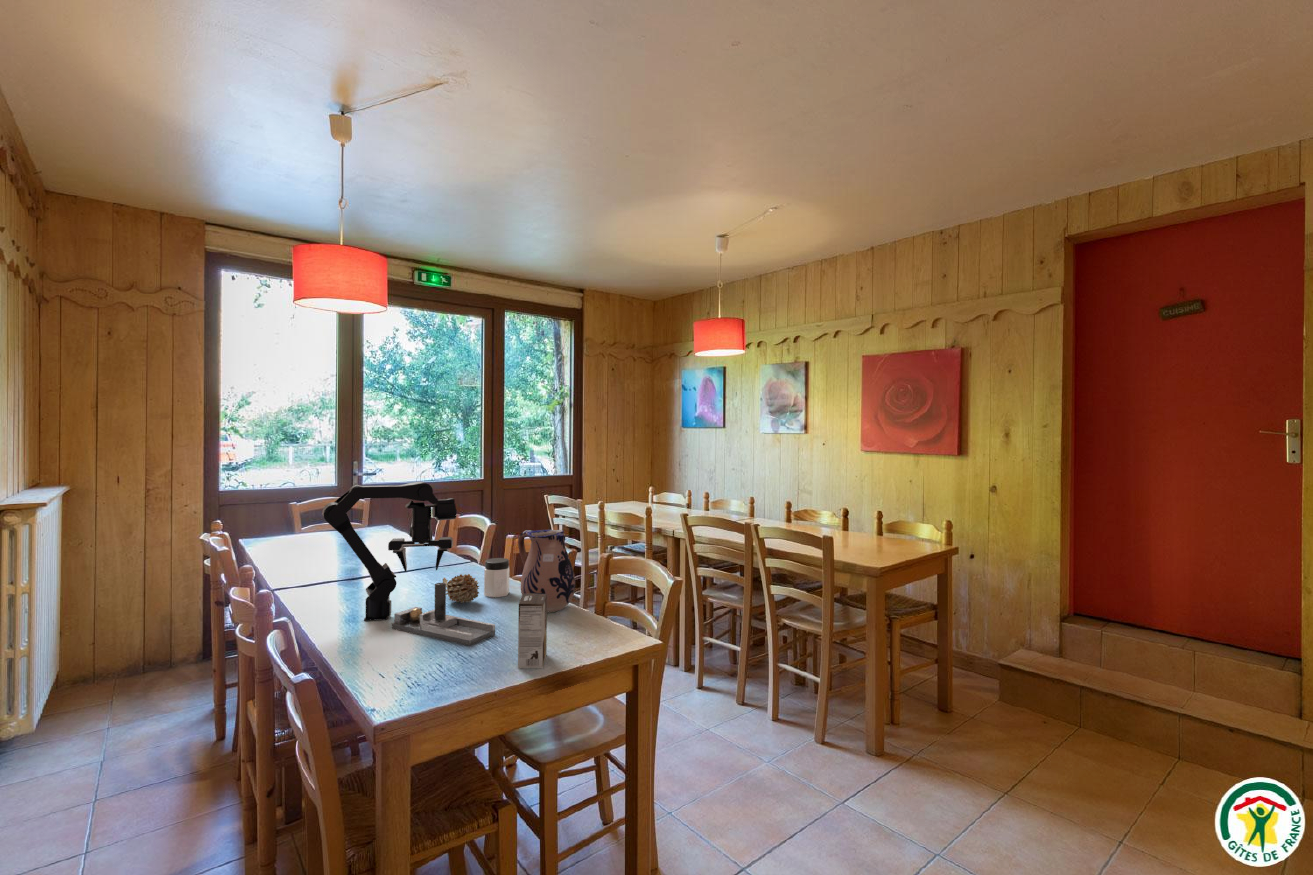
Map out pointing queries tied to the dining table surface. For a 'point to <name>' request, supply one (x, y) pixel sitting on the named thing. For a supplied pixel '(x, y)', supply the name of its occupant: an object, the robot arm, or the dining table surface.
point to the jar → (496, 577)
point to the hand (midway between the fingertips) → (421, 570)
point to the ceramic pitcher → (547, 568)
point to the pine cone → (462, 588)
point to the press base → (459, 633)
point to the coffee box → (532, 630)
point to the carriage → (438, 610)
